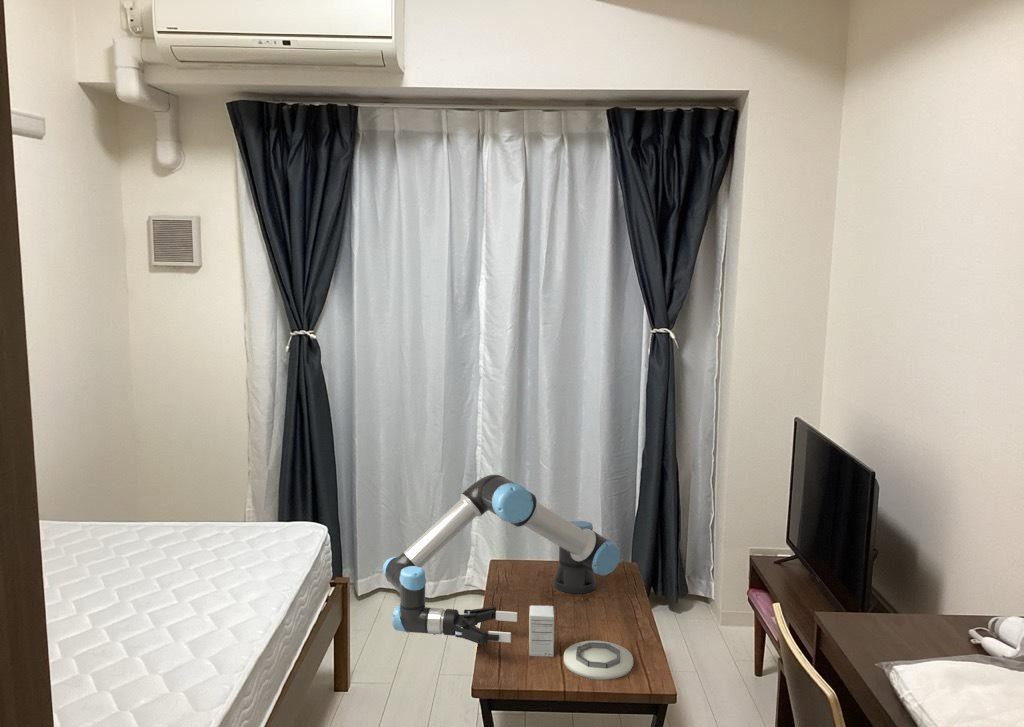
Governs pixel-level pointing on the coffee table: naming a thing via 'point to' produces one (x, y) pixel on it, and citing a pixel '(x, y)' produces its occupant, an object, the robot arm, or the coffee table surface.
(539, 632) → the supplement box
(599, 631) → the coffee table surface
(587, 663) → the seat ring
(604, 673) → the plate
